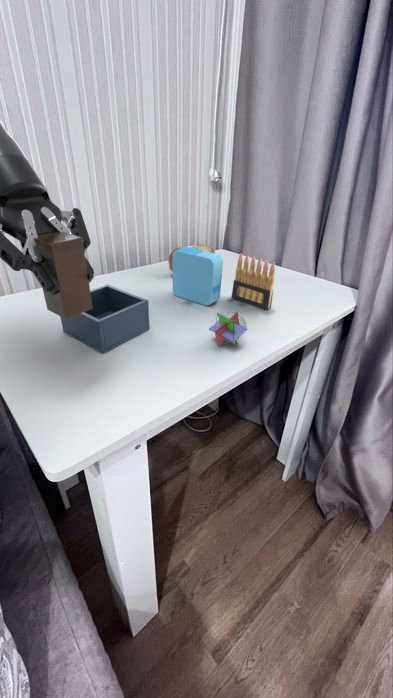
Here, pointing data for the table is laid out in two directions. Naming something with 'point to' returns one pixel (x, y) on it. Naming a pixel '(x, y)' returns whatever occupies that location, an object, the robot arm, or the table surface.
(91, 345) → the bin
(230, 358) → the table surface
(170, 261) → the tin
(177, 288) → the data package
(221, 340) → the geometric puzzle
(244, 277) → the ammunition clip
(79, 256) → the block
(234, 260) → the table surface
